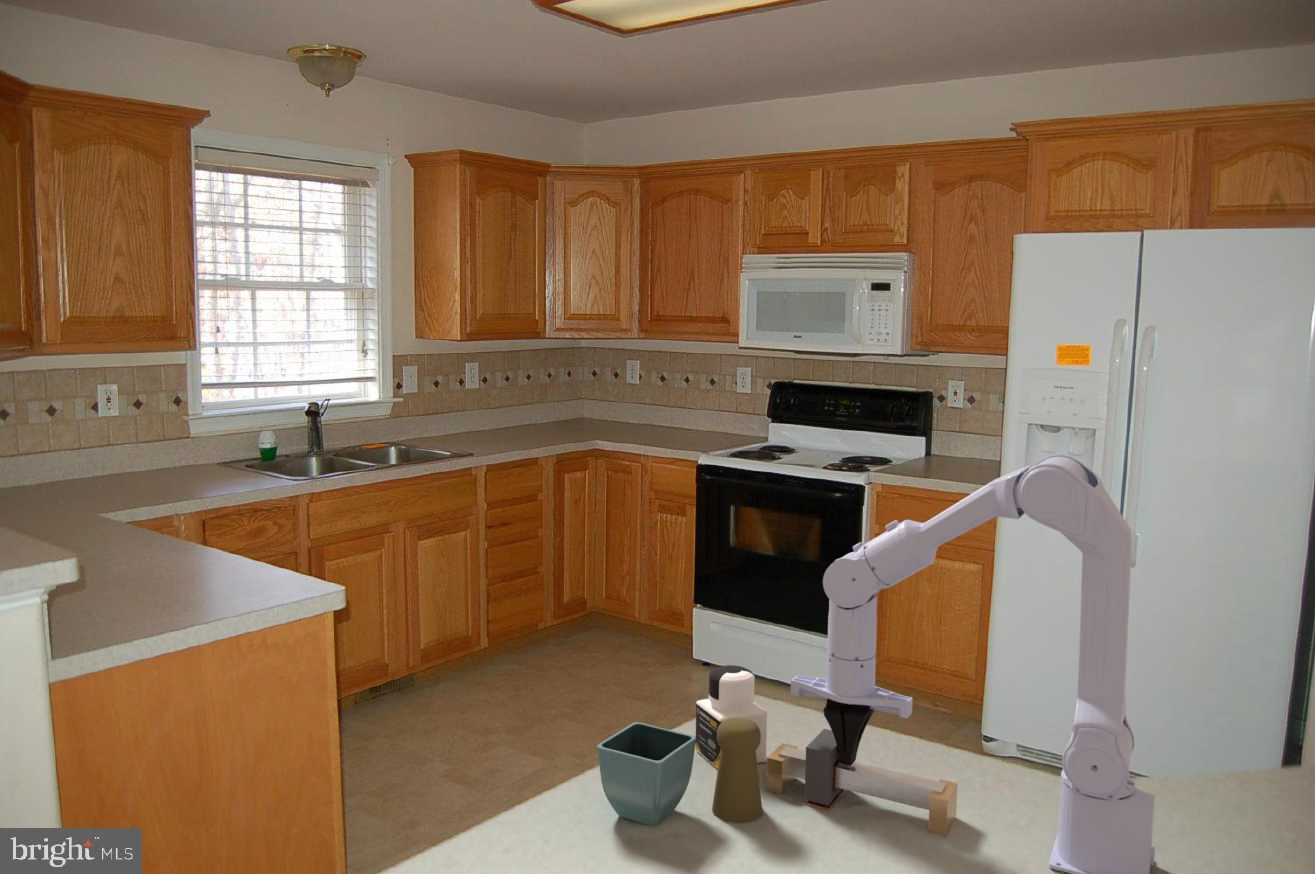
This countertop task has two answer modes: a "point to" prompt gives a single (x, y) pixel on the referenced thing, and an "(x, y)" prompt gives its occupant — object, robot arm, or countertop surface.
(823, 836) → the countertop surface
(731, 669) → the medicine bottle
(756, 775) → the brown pawn figure
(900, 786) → the rail
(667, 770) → the flower pot
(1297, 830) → the countertop surface
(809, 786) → the collar
